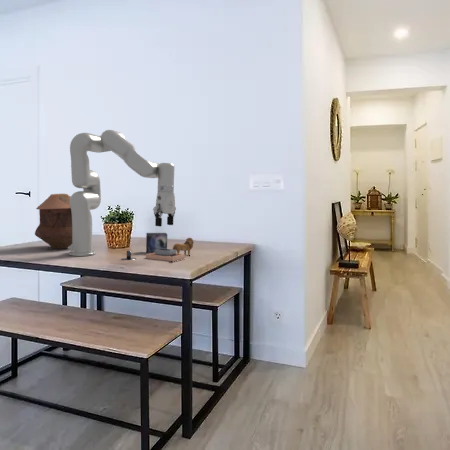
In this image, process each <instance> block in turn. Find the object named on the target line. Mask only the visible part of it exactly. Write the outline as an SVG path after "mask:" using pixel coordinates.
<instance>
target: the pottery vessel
mask: <svg viewBox="0 0 450 450" xmlns="http://www.w3.org/2000/svg"><path fill="white" fill-rule="evenodd" d="M71 196H72V195H69V194H67V193H51V194H50V195H49V196H48V197H47V198H46V199H45V200H44V201H43V202H42V203H41V204H39V205H38V206H37V207H36V210H39V211H38V213H39V224H38V226H37V227H36V229H35V231H34V235H35V236H36V237H37V238H38V239H39V240H41V241H43V242H44V243H46V244H47V245H49V246H50V248H52V249H68V247H70V245H72V213H71V207H70V197H71Z"/></svg>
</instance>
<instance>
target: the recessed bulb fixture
mask: <svg viewBox="0 0 450 450" xmlns="http://www.w3.org/2000/svg"><path fill="white" fill-rule="evenodd" d="M176 253H177V250H174V249H173V248H172V249H171V248H167V249H163V248H161V249H156V250H155V255H161V256H170V257H173V256H176Z"/></svg>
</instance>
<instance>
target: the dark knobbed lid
mask: <svg viewBox="0 0 450 450" xmlns="http://www.w3.org/2000/svg"><path fill="white" fill-rule="evenodd" d="M121 260H122V261H135V260H137V258H136V257H132V251H131V250H126V257H122V258H121Z"/></svg>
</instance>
